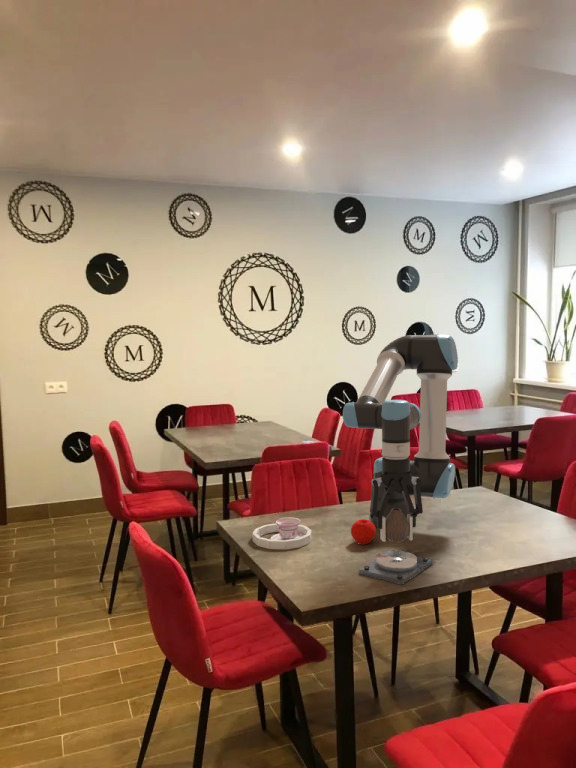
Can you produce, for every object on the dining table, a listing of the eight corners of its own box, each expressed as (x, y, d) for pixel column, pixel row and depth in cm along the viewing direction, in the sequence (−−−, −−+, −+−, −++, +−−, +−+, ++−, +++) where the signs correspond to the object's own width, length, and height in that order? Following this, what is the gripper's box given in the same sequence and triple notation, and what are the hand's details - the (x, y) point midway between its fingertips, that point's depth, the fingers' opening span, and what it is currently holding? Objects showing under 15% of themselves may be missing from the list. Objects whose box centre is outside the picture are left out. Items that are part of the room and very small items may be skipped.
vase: (382, 536, 172) (381, 505, 172) (406, 536, 172) (406, 505, 171) (385, 544, 165) (385, 512, 165) (411, 544, 165) (411, 512, 165)
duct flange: (359, 573, 166) (359, 562, 166) (391, 554, 180) (391, 544, 180) (402, 584, 158) (402, 572, 158) (432, 564, 172) (432, 552, 172)
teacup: (284, 532, 204) (284, 513, 204) (314, 538, 197) (314, 519, 197) (262, 542, 194) (261, 523, 194) (293, 549, 187) (293, 529, 187)
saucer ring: (241, 541, 194) (241, 534, 194) (278, 527, 209) (278, 519, 209) (286, 553, 183) (286, 545, 183) (322, 537, 197) (322, 529, 197)
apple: (380, 546, 188) (379, 522, 187) (355, 548, 186) (354, 524, 186) (372, 538, 196) (372, 515, 195) (348, 540, 194) (347, 517, 194)
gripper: (363, 460, 162) (364, 545, 164) (435, 458, 164) (435, 542, 166) (357, 455, 170) (358, 536, 171) (426, 453, 172) (426, 533, 173)
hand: (396, 539), depth 169 cm, fingers closed on vase, 7 cm apart
